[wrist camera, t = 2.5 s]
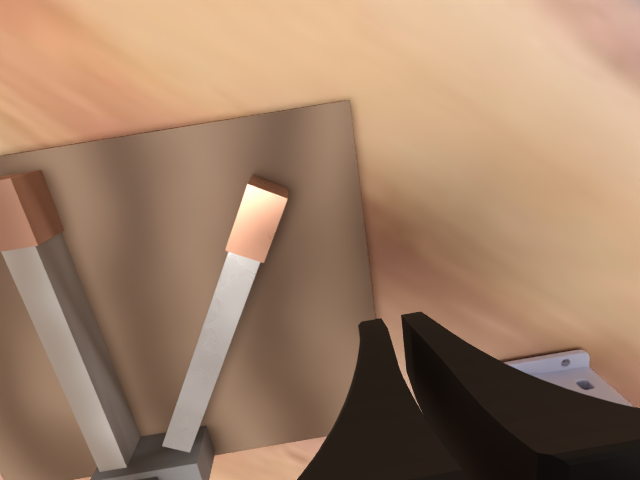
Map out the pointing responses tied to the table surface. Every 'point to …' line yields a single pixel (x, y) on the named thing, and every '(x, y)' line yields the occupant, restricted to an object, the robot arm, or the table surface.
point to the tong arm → (227, 305)
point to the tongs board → (175, 294)
